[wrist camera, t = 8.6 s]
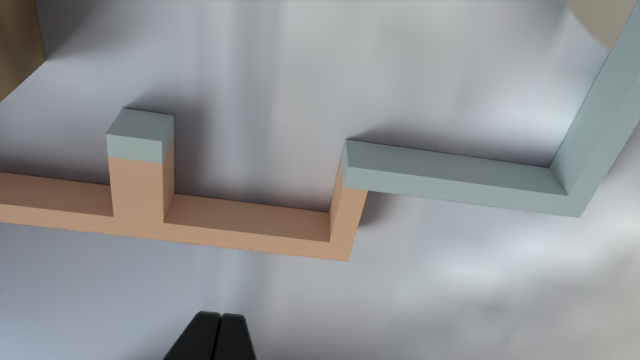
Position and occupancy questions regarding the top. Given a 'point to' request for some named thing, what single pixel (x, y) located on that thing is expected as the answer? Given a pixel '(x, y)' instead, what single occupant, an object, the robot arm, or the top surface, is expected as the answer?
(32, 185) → the trap box
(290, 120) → the top surface
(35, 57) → the block
